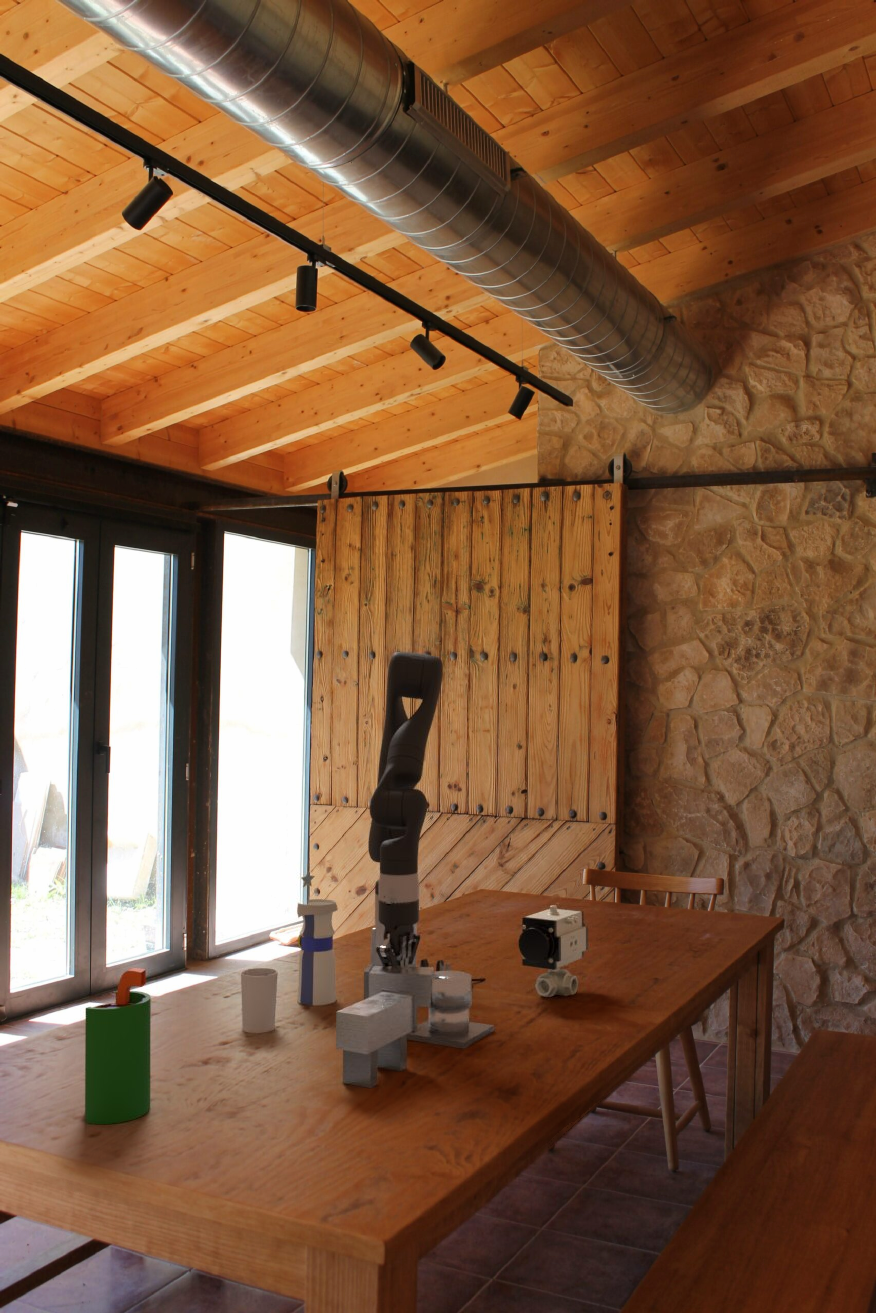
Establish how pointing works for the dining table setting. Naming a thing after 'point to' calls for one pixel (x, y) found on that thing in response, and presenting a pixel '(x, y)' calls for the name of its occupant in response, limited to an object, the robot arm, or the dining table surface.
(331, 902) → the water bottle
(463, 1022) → the duct stub
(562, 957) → the ball valve
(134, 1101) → the green container with spout
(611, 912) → the dining table surface
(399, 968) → the elbow
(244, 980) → the white cup
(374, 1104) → the dining table surface
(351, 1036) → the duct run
